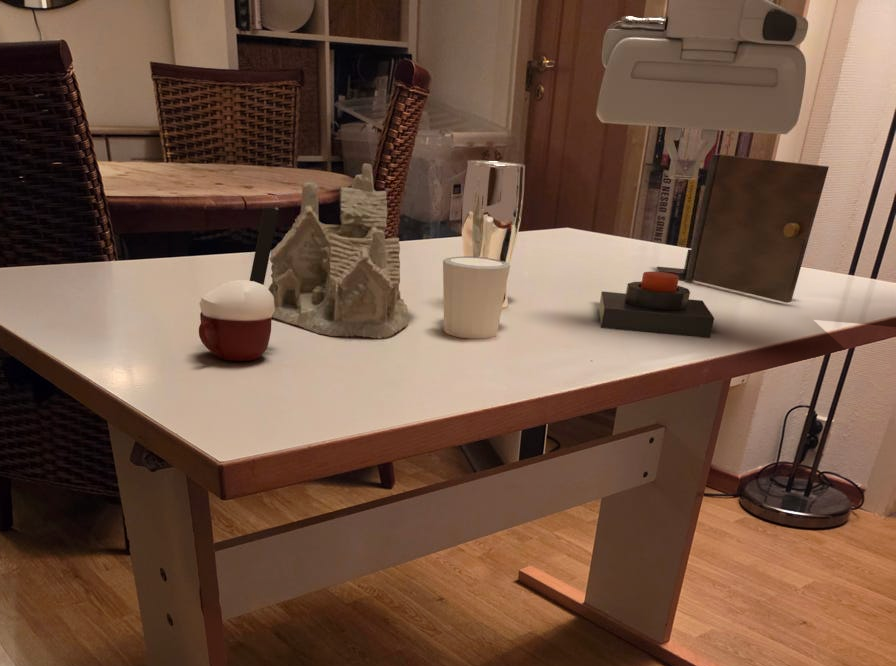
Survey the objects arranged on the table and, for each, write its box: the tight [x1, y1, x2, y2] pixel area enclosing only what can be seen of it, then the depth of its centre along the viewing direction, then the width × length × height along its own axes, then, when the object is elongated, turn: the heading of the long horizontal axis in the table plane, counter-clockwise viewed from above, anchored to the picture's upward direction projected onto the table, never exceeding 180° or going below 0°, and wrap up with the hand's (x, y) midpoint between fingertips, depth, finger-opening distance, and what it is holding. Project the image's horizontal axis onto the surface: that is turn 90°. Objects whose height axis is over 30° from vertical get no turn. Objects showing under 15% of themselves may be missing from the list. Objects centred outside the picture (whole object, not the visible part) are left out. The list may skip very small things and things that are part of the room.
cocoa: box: [198, 205, 280, 362], centre depth 75 cm, size 10×6×12 cm, turn 126°
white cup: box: [442, 255, 511, 339], centre depth 89 cm, size 7×7×7 cm
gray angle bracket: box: [655, 249, 693, 282], centre depth 128 cm, size 5×4×4 cm
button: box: [641, 271, 680, 292], centre depth 98 cm, size 4×4×2 cm
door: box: [685, 153, 830, 304], centre depth 116 cm, size 18×2×16 cm, turn 35°
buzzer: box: [598, 281, 715, 339], centre depth 99 cm, size 12×10×4 cm
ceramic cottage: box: [267, 163, 409, 340], centre depth 89 cm, size 16×16×15 cm
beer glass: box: [460, 159, 526, 310], centre depth 100 cm, size 7×7×15 cm
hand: (682, 178), depth 92 cm, fingers closed
